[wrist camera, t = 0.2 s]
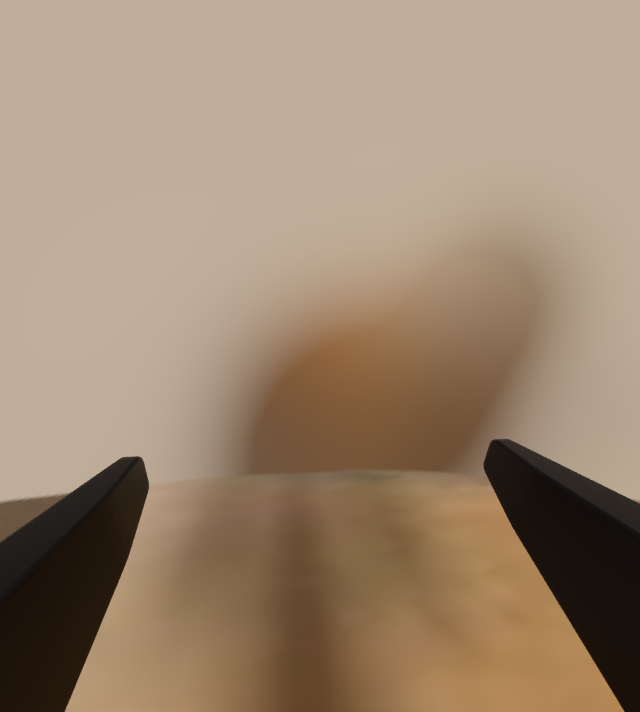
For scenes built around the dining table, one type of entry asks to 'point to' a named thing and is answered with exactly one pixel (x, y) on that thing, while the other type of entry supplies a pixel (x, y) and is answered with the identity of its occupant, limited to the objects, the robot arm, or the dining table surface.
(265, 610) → the dining table surface
